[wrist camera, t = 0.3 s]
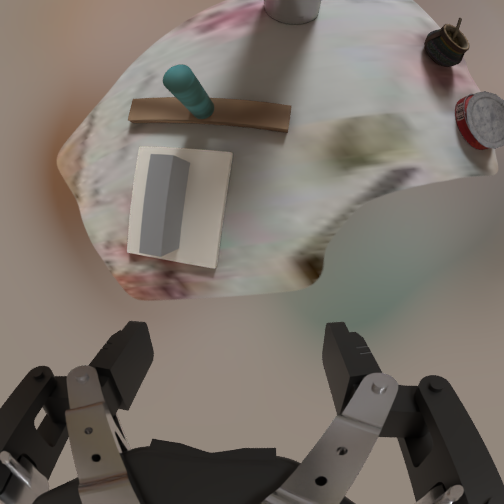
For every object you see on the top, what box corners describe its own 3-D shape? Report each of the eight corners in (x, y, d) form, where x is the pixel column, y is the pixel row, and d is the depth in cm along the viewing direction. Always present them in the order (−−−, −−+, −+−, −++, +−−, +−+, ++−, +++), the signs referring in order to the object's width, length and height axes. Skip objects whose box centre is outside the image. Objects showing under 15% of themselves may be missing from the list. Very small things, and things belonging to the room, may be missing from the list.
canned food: (476, 145, 36) (510, 165, 28) (444, 135, 36) (480, 156, 28) (484, 93, 29) (521, 107, 21) (451, 78, 29) (490, 88, 21)
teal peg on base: (138, 102, 36) (93, 73, 23) (290, 110, 35) (296, 69, 22) (133, 123, 37) (86, 99, 24) (287, 133, 35) (292, 99, 23)
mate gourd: (422, 62, 30) (449, 37, 21) (417, 33, 29) (439, 6, 19) (454, 77, 30) (483, 57, 20) (448, 47, 29) (473, 25, 19)
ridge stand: (143, 148, 37) (116, 137, 29) (233, 154, 36) (222, 141, 28) (131, 250, 40) (103, 260, 32) (217, 266, 39) (202, 281, 31)
